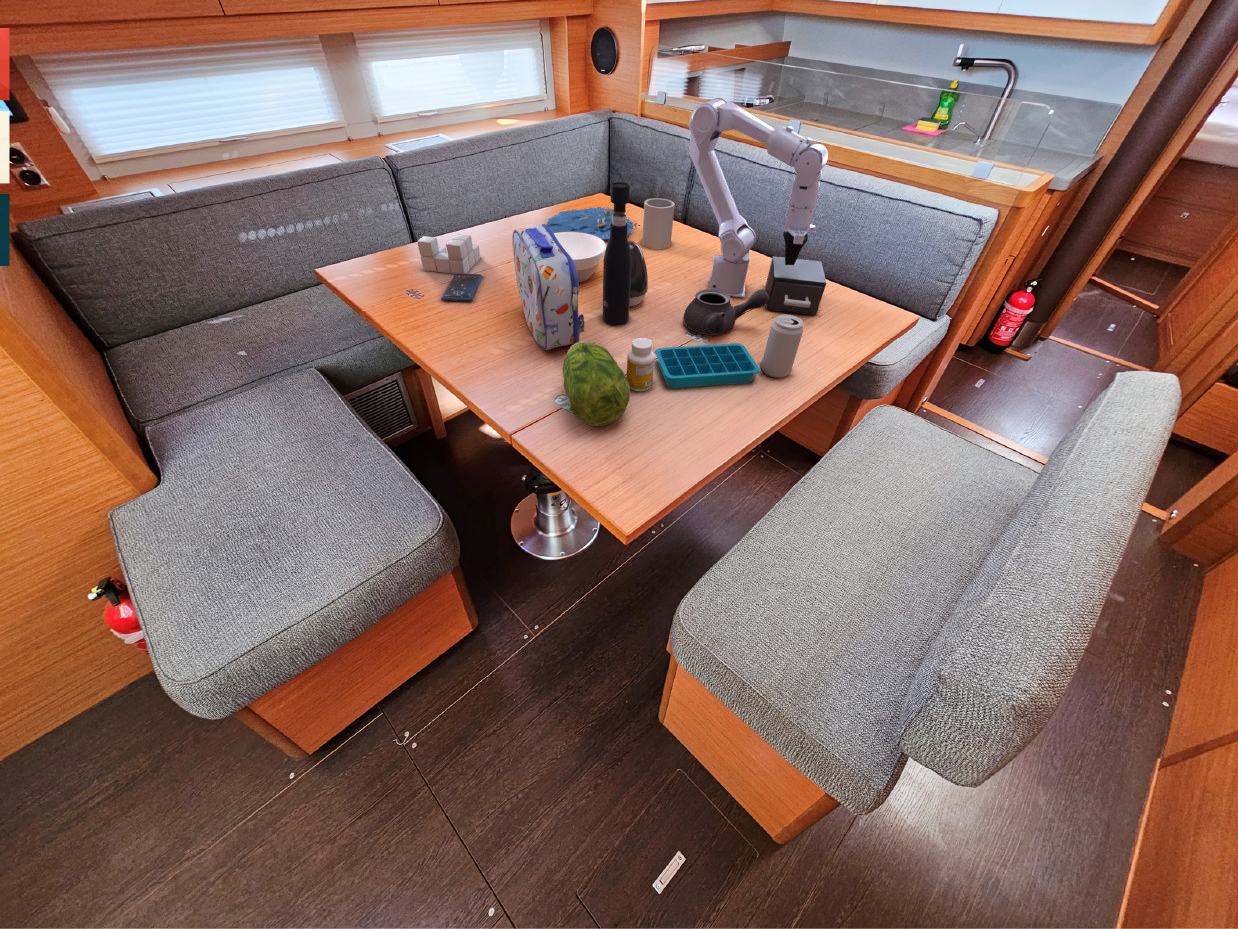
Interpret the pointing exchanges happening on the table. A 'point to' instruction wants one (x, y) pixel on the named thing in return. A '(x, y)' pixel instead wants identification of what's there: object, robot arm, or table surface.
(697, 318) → the teapot
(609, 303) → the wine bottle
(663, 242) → the cup
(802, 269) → the cabinet
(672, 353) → the ice cube tray
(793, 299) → the drawer
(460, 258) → the puzzle cube
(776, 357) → the beverage can
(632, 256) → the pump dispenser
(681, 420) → the table surface
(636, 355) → the supplement bottle
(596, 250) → the bowl
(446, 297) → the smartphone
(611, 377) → the lettuce
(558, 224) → the blue sea diorama
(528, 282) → the lunch box
